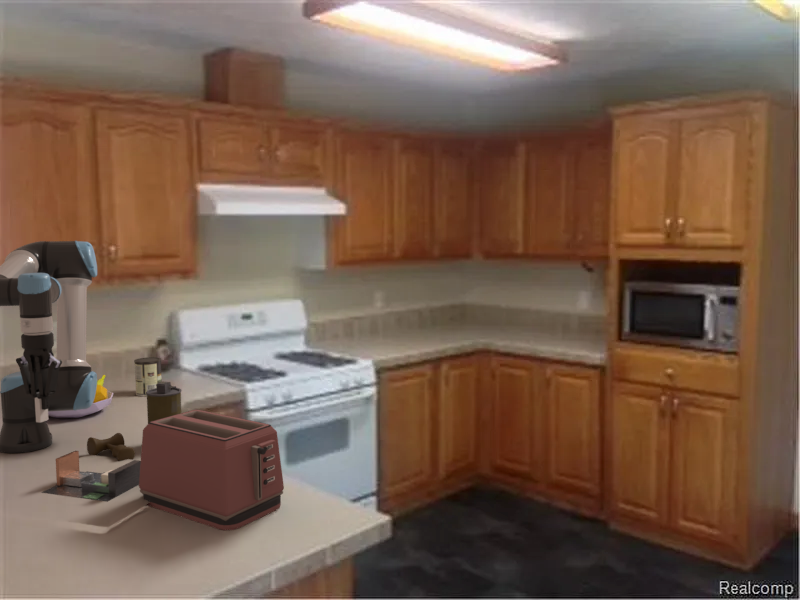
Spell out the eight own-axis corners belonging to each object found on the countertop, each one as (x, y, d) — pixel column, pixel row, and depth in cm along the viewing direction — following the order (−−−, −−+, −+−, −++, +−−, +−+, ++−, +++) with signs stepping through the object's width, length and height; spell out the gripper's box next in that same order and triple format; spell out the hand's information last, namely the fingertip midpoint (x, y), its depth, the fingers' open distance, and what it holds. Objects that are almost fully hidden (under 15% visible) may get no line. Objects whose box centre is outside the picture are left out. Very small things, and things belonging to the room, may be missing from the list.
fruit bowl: (58, 427, 239) (57, 395, 238) (20, 414, 255) (19, 384, 254) (133, 410, 261) (132, 380, 260) (94, 399, 277) (93, 371, 276)
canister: (172, 451, 213) (170, 387, 211) (141, 449, 216) (138, 385, 213) (190, 441, 224) (188, 379, 222) (160, 439, 226) (157, 377, 224)
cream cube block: (101, 489, 180) (101, 474, 179) (112, 484, 183) (111, 469, 183) (115, 491, 178) (114, 476, 178) (125, 486, 182) (124, 470, 182)
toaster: (234, 535, 156) (232, 446, 154) (137, 503, 174) (133, 422, 172) (292, 507, 172) (291, 425, 170) (197, 480, 190) (195, 405, 188)
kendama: (110, 469, 200) (80, 452, 213) (143, 462, 207) (112, 445, 220) (110, 449, 199) (80, 433, 213) (143, 442, 206) (112, 427, 220)
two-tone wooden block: (56, 485, 182) (55, 458, 181) (76, 476, 188) (75, 450, 188) (77, 488, 180) (76, 461, 179) (96, 479, 187) (95, 452, 186)
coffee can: (151, 389, 295) (150, 356, 293) (167, 392, 289) (166, 358, 288) (130, 394, 286) (128, 360, 285) (146, 397, 281) (145, 362, 279)
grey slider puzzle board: (41, 496, 178) (39, 469, 177) (86, 475, 193) (85, 450, 192) (107, 506, 172) (106, 477, 171) (149, 483, 187) (148, 457, 186)
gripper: (5, 333, 181) (11, 422, 184) (46, 336, 178) (51, 427, 181) (28, 329, 189) (33, 414, 192) (68, 331, 185) (73, 419, 188)
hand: (42, 420), depth 186 cm, fingers closed
